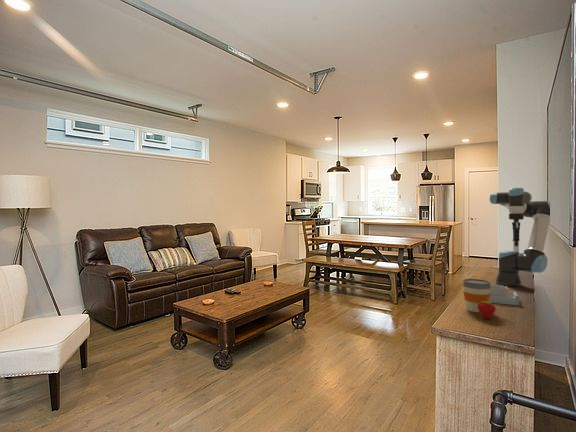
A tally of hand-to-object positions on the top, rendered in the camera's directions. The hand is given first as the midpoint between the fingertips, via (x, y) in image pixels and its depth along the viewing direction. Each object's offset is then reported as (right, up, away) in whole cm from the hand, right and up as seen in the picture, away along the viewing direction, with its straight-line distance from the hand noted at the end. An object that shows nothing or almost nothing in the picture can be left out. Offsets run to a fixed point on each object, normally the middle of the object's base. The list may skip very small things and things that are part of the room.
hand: (516, 251), depth 206 cm
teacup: (-21, -27, -13) cm, 37 cm away
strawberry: (-46, -27, -47) cm, 71 cm away
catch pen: (-21, -27, -13) cm, 36 cm away
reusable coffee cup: (-43, -27, -33) cm, 60 cm away
